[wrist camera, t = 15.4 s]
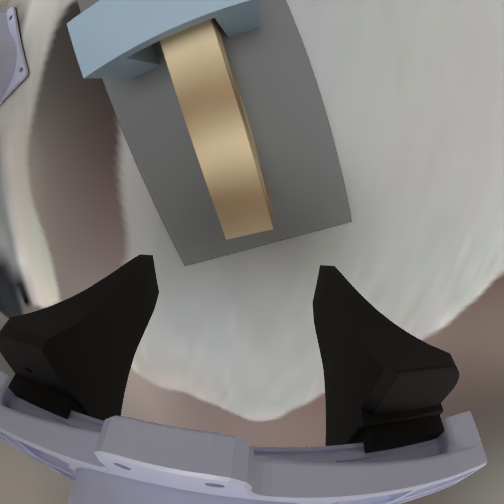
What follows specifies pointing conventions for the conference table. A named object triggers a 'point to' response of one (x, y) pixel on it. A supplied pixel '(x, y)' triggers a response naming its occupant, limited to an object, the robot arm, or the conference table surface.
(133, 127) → the mat
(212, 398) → the conference table surface
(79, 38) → the light blue u-channel
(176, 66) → the tan wooden bar
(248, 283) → the conference table surface
